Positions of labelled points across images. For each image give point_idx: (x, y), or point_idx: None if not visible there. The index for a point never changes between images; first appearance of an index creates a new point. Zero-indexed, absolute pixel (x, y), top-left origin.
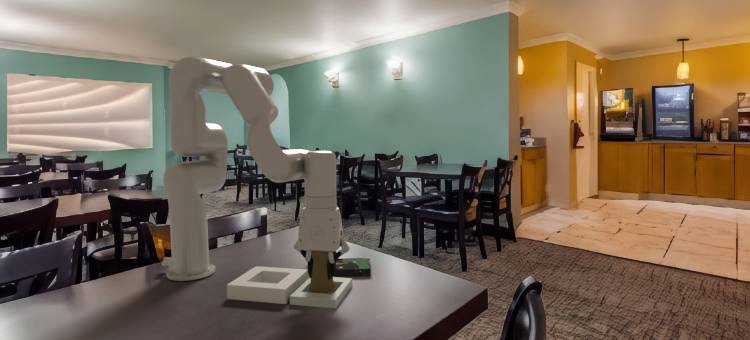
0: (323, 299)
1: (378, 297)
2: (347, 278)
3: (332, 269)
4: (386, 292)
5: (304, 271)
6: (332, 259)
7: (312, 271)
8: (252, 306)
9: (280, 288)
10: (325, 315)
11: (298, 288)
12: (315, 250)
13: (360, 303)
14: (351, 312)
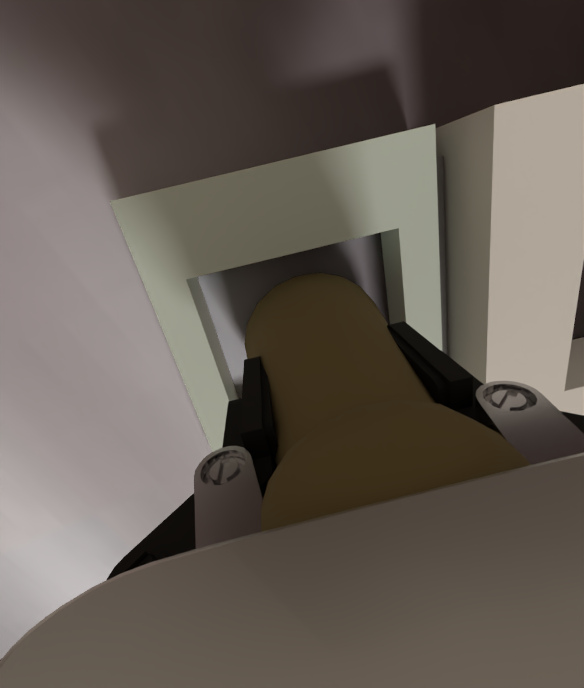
0: (195, 181)
1: (35, 420)
2: None
3: (237, 420)
4: (45, 478)
5: None
6: (219, 487)
7: (396, 345)
8: None
9: (540, 106)
10: (118, 76)
11: (436, 265)
12: (470, 481)
13: (60, 323)
14: (11, 193)
